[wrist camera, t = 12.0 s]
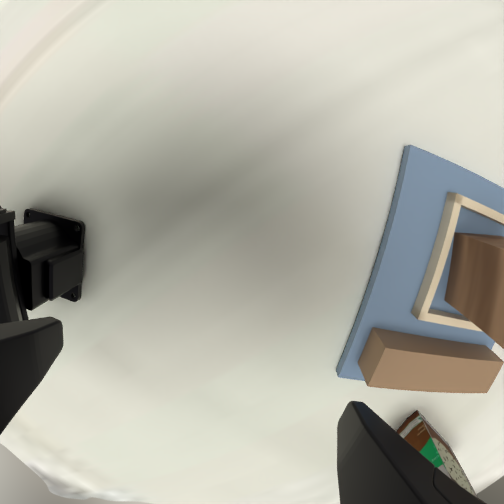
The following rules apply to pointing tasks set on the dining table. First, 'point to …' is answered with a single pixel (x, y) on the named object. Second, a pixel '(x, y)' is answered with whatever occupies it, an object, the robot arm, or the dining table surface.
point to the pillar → (478, 281)
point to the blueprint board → (425, 285)
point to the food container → (433, 448)
